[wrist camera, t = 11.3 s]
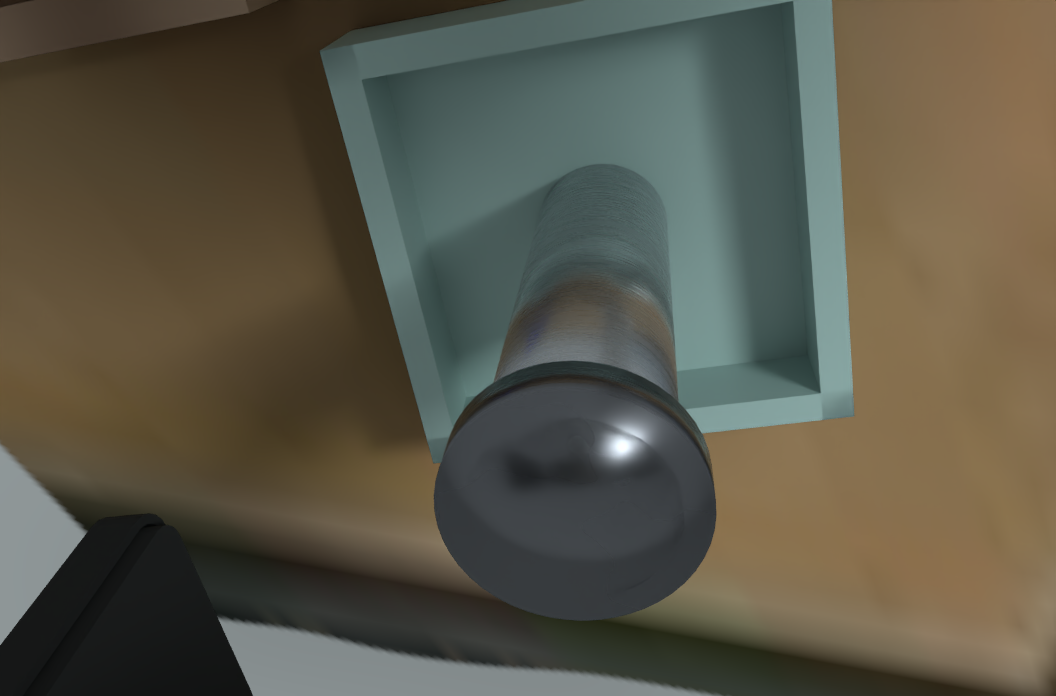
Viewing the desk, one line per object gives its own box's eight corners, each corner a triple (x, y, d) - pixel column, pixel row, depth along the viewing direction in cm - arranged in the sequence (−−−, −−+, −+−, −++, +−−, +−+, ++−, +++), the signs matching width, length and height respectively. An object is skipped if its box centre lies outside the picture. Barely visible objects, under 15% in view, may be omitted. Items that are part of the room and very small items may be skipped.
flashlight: (674, 134, 22) (699, 374, 12) (693, 289, 23) (729, 610, 14) (507, 160, 22) (404, 408, 13) (537, 309, 24) (467, 629, 14)
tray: (807, -58, 20) (828, -46, 18) (834, 364, 25) (854, 416, 22) (350, 30, 22) (319, 51, 20) (450, 411, 26) (433, 463, 24)
